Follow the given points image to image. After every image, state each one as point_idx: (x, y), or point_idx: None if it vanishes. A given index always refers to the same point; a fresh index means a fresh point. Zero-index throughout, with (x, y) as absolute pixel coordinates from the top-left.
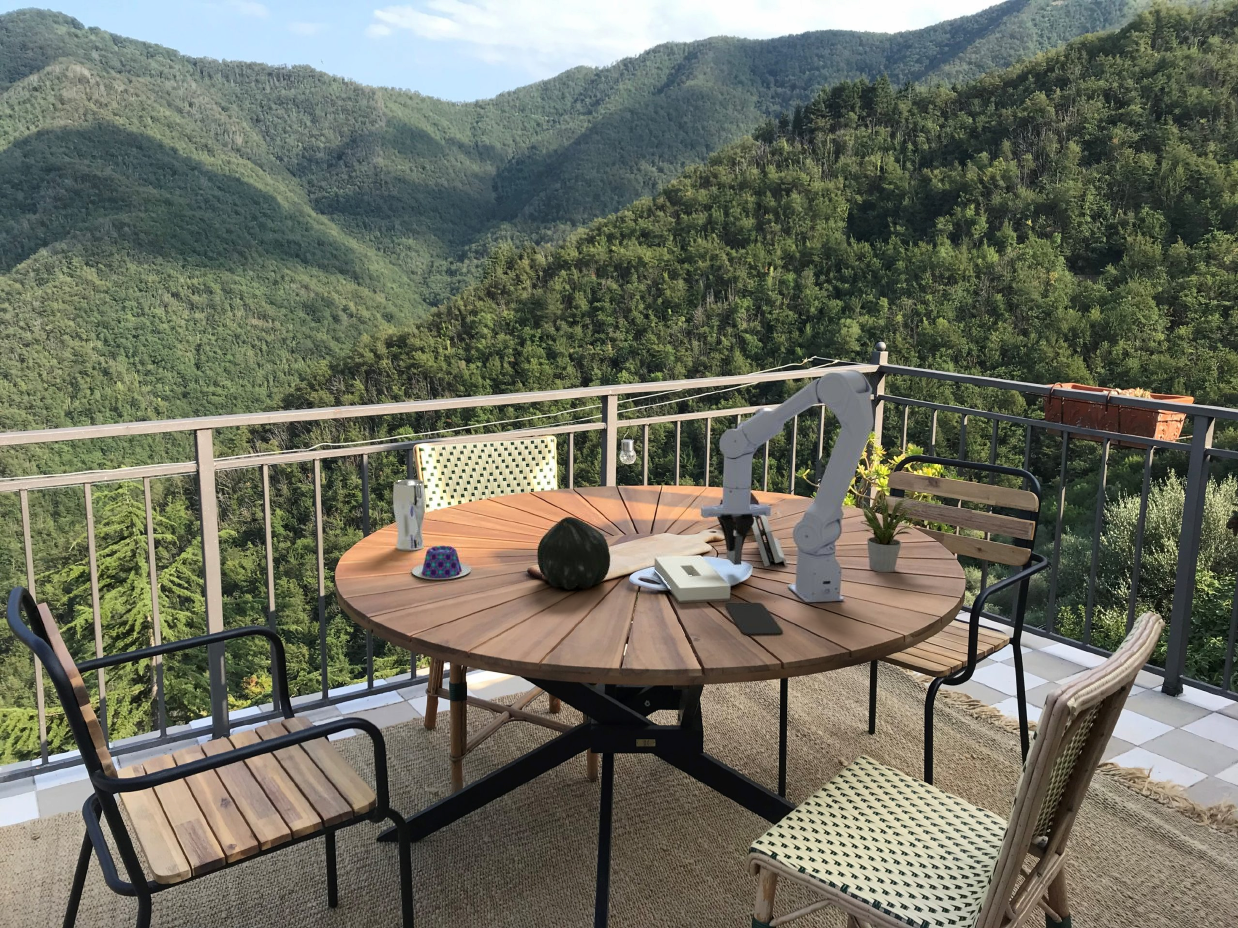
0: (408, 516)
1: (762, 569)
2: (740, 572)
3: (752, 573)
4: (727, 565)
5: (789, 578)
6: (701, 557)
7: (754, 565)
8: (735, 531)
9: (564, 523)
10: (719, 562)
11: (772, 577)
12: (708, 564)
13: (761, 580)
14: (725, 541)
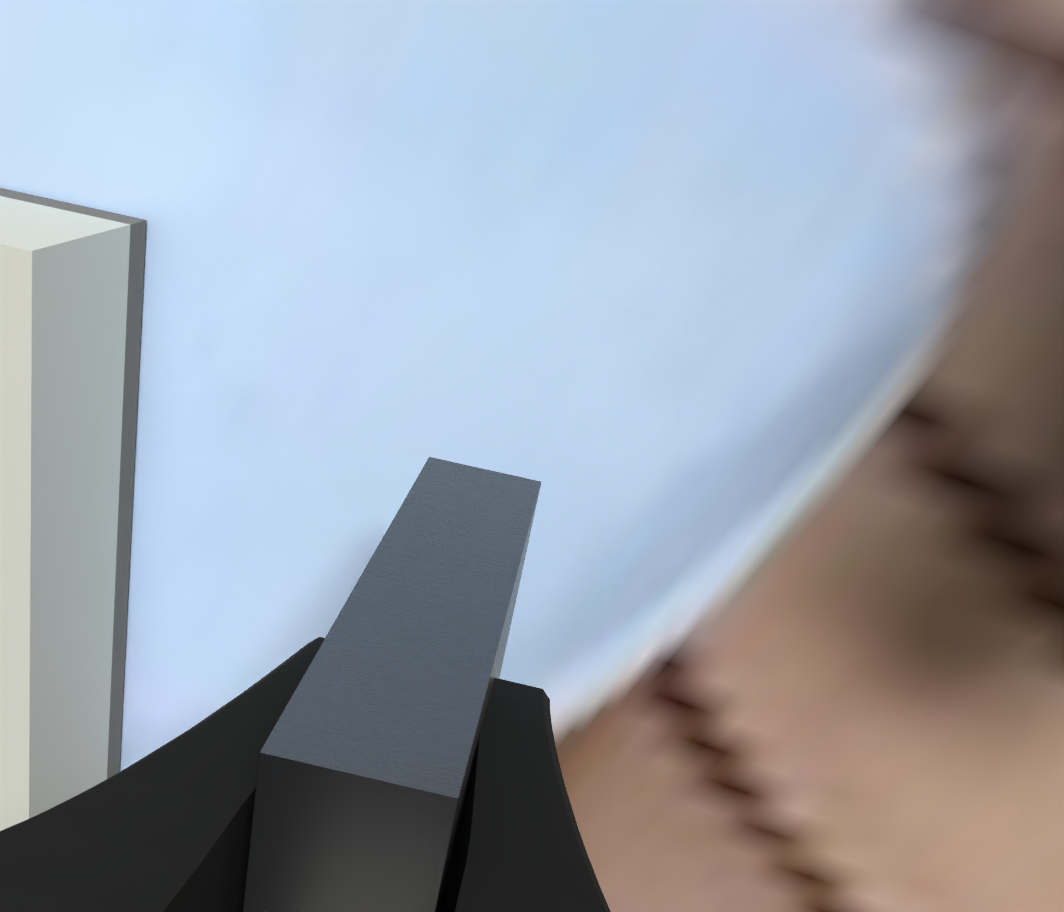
0: None
1: (958, 530)
2: (602, 531)
3: (724, 613)
4: (599, 204)
5: (1017, 892)
6: (15, 365)
7: (980, 342)
8: (413, 899)
9: None
10: (560, 17)
11: (857, 803)
12: (18, 675)
13: (670, 832)
14: (249, 691)
